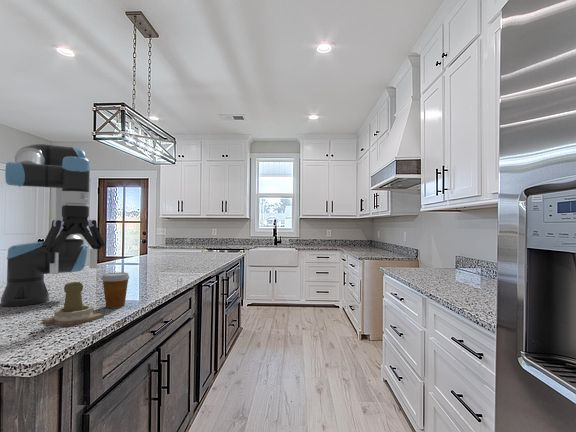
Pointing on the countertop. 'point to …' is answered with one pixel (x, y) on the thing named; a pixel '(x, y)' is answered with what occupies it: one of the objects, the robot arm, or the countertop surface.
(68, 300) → the olive knobbed peg
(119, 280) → the disposable coffee cup
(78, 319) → the collar base
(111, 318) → the countertop surface
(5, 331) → the countertop surface
